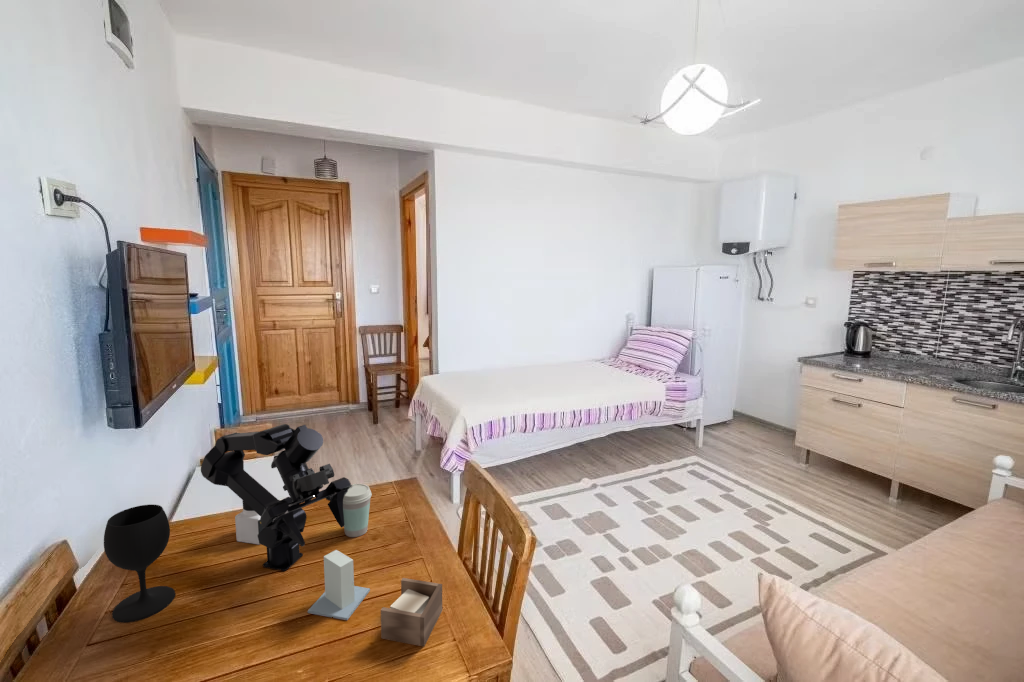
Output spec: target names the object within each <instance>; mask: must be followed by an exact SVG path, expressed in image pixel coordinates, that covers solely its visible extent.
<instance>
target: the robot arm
mask: <svg viewBox="0 0 1024 682" xmlns="http://www.w3.org/2000/svg"><path fill="white" fill-rule="evenodd" d="M323 445H324V437H323V436H322V434H321V433H320V432H319V431H317V430H315V429H313V428H308V427H307V425H306V424H302V425H300V426H297V427H296V428H293V427H290V425H289V424H288V423H287V424H286V423H283V424H280V425H277V426H274V427H270V428H267V429H264V430H261V431H251V432H250V431H249V432H233V433H229V434H227V435H223V436H219V438H218V439H217V440H216V442H215V444H214V446H213V447H212V448H211V449H210V450H209V451H208V452H207V453H206V455H204V457H203V461H202V462H201V463H202V464H201V466H200V473H201V476H202V477H203V478H205V480H207V481H209V482H210V483H211V484H213V485H217V486H225V487H227V488H229V489H230V491H232V492H233V493H234V494H235V495H236V496H237V497H238V498H240V499H241V501H242V502H243V501H244V502H245V503H246V504H247V505H249V506H250V507H251V508H252V509H253V510H254V511H255V512H256V513H257V514H259V515H260V516H261V518H260V520H261V524H262V526H263V530H262V531H261V532H260V533H259V534H258V540H259V543H260V545H262V546H264V547H266V559H267V560H266V561H265V562H264V563H263V564H262V567H263V568H264V569H271V570H278V571H283V572H284V571H287V570H289V569H290V568H291V567H292V566H293V565H294V564H295V563H296V562H298V561H299V560H300V559H301V558H302V557H303V555H304V553H303V552H301V551H300V546H301V547H304V546H305V545H306V542H305V540H304V537H303V535H302V534H303V532H304V530H305V526H306V522H307V517H308V516H307V513H306V512H305V510H304V509H303V508H305V507H307V506H309V505H312V504H315V503H317V502H319V501H322V500H324V499H325V500H326V501H328V503H327V506H328V508H329V510H330V512H331V513H332V515H333V517H334V519H335V521H336V522H337V524H338V525H339V526H340V528H344V525H345V524H344V513H343V498H344V495H345V494H346V493H347V492H348V489H349V488H350V487H351V486H352V483H351V481H350V479H348V478H347V477H341V478H337V479H336V480H333V481H331V482H330V481H329V479H331V478H334V477H335V471H334V468H333V467H332V466H331V464H330V463H327V464H324V465H321V466H319V469H318V470H319V471H317V472H315V470H314V469H313V468H311V467H310V468H309V466H308V465H307V463H308V462H309V461H310V460H311V459H312V458H313V457H314V456H315V455H316V453H317V452H318V451H319V450H320V449H321V448H322V446H323ZM245 451H255V453H256V454H258V455H262V456H269V455H272V454H275V453H277V452H279V453H278V455H273V459H272V462H271V464H270V465H271V466H270V467H271V469H275V468H276V469H277V472H278V473H279V475H280V478H281V480H282V482H283V486H282V488H283V491H284V492H287V494H288V495H289V496H287V497H284V498H282V499H281V500H280V499H279V498H277V497H276V496H274V495H273V494H272V492H270V491H269V490H268V489H267V488H265V486H263V485H262V484H261V483H259V482H258V481H257V480H256V479H255V478H254V477H253V476H252V475H250V474H249V473H248V472H247V471H246V470H245V469H244V465H245V464H244V459H245V455H246V454H245ZM280 451H281V452H280ZM325 485H327V487H326V488H325V489H322V488H324V486H325Z"/></svg>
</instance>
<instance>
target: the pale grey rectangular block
mask: <svg viewBox="0 0 1024 682" xmlns="http://www.w3.org/2000/svg"><path fill="white" fill-rule="evenodd" d="M354 568H355V567H354V559H352V558H351V557H349V555H346V554H344V553H343V552H341V551H339V550H337V549H335V550H332V551H331V552H330V553H327V554H326V555H323V575H324V576H323V577H324V592H325V597H326V598H327V599H328V600H330V601H331V602H333V603H334V604H335V605H337V606H338V607H339V608H341V609H343V608H345V607H346V606H348V605H349V604H351V603H353V602H354V601H355V599H354V586H355V576H354V573H355V571H354Z"/></svg>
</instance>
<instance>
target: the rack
mask: <svg viewBox="0 0 1024 682" xmlns="http://www.w3.org/2000/svg"><path fill="white" fill-rule="evenodd" d="M400 587H401V590H400V591H401V594H400V596H401V595H402V594H403V593H404V592H405V591H406V590H407V589H410V590H412V591H415V592H418V593H420V594H423V595H426V596H428V597H429V602H428V604H427V605H426V607H425V609H424V611H423V613H422V614H419V613H413V612H407V611H402V610H396V609H391V608H390V607H382V608H381V609H380V637H381V639H383V640H388V641H393V642H398V643H403V644H409V645H415V646H419V647H425V646H426V644H427V642H428V640H429V638H430V636H431V634H432V632H433V630H434V627H435V626H436V624H437V622H438V620H439V618H440V616H441V614H442V612H443V584H442V583H436V582H432V581H425V580H418V579H413V578H406V577H402V578H401V579H400Z"/></svg>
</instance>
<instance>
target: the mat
mask: <svg viewBox="0 0 1024 682" xmlns="http://www.w3.org/2000/svg"><path fill="white" fill-rule="evenodd" d="M370 591H371V589H370V587H365V586H364V587H362V586H358V585H354V599H355V601H354V602H353V603H351V604H349V605H348V606H346V607H345V608H343V609H341V608H339V607H338V606H337V605H335V604H334V603H333V602H331V601H330V600H328V599H327V598H326V597H325V591H324V592H323V593H322V594H321V596H320V597H319V598H318V599H317V600H316V601H315V602H314V603H313V604H312V605H311V606H310V608H308V610H307V613H308V614H312V615H316V616H323V617H328V618H332V617H333V618H332V619H338V620H344V621H348V620H349V619H350V617H351V616H352V615H353V613H355V611H356V610H357V609H358V607H359V606H360V604H361V603H362V602H363V600H364V599H365V598H366V597H367V595H368V594H369V592H370Z"/></svg>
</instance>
